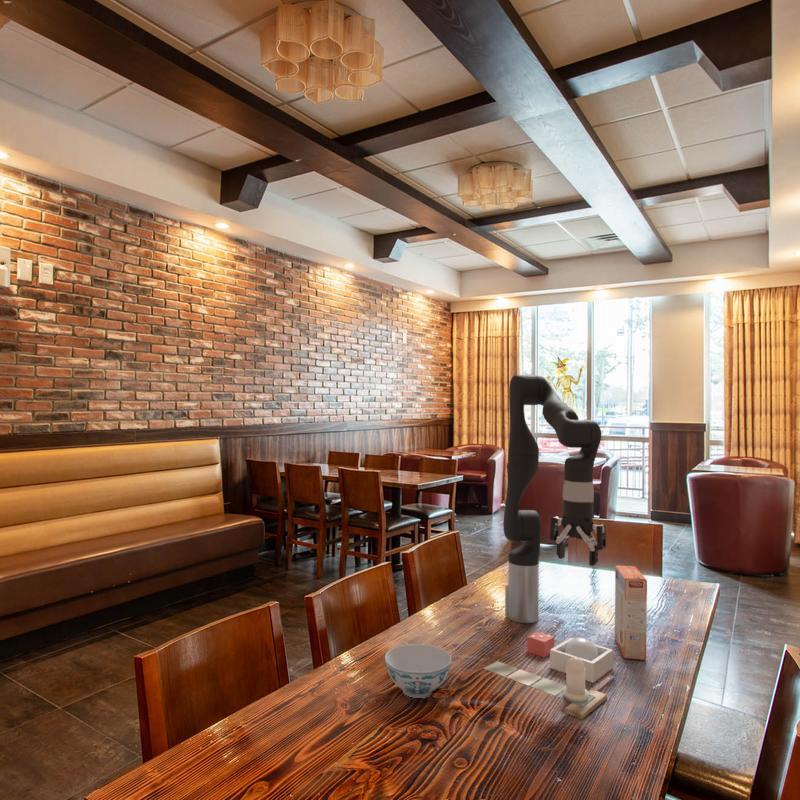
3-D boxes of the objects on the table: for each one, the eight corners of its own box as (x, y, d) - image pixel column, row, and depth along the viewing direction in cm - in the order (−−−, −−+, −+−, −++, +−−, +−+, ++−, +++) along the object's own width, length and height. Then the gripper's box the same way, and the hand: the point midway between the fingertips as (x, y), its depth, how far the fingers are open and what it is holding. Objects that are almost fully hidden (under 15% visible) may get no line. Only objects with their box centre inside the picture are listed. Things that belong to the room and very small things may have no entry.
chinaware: (460, 684, 133) (460, 651, 133) (436, 714, 119) (437, 677, 119) (401, 671, 139) (401, 639, 139) (372, 699, 126) (373, 663, 126)
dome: (558, 671, 140) (558, 638, 140) (573, 661, 145) (574, 629, 146) (589, 682, 134) (590, 648, 134) (604, 671, 140) (604, 638, 140)
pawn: (559, 696, 125) (559, 657, 126) (570, 688, 129) (570, 650, 129) (581, 704, 122) (581, 664, 122) (592, 696, 125) (592, 657, 126)
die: (527, 656, 149) (527, 636, 149) (537, 650, 153) (537, 631, 153) (544, 661, 146) (544, 641, 146) (554, 656, 149) (554, 636, 149)
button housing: (549, 672, 140) (550, 649, 140) (571, 659, 148) (571, 637, 148) (593, 687, 132) (593, 663, 132) (613, 672, 140) (613, 649, 140)
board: (471, 675, 137) (471, 670, 137) (499, 660, 146) (499, 655, 146) (582, 719, 118) (581, 713, 118) (606, 699, 127) (606, 693, 127)
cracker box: (647, 661, 147) (648, 579, 147) (623, 659, 148) (623, 577, 148) (636, 640, 160) (636, 565, 161) (614, 638, 162) (614, 564, 162)
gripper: (545, 496, 148) (544, 558, 148) (598, 504, 138) (596, 571, 138) (559, 492, 154) (558, 553, 154) (611, 500, 144) (610, 564, 144)
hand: (576, 561), depth 146 cm, fingers open, 8 cm apart
